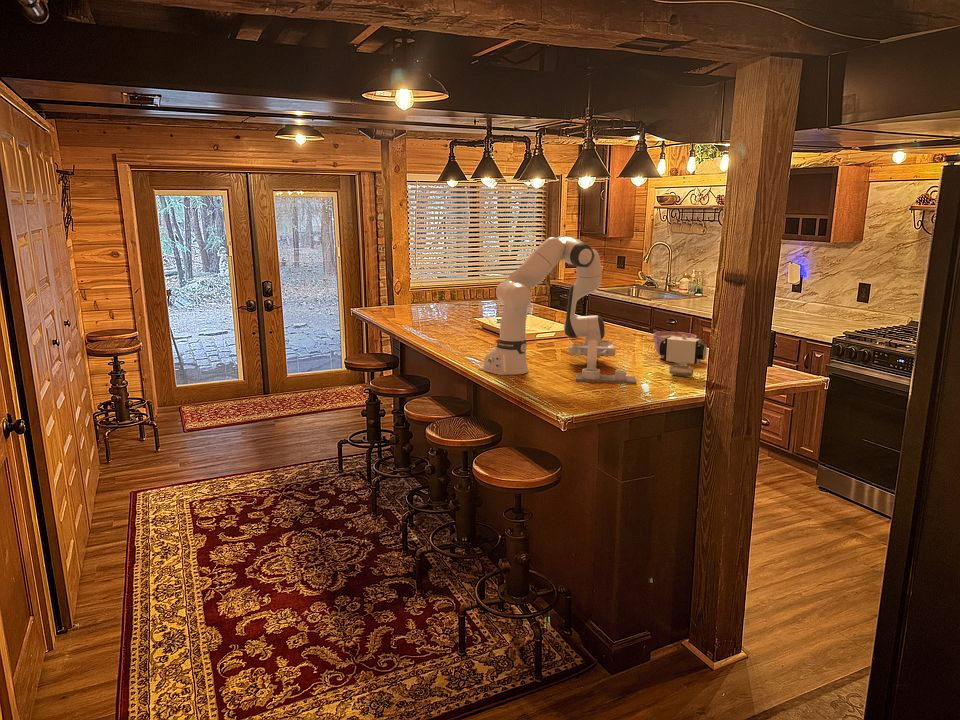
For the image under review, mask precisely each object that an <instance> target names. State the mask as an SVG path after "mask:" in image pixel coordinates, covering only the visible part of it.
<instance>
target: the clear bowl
mask: <svg viewBox="0 0 960 720" xmlns="http://www.w3.org/2000/svg"><path fill="white" fill-rule="evenodd" d="M652 335H653V341H654V347H655V351H656V354H657V355H659V356H660V357H663V356H661V355H660V352H659V349H660V343H661V341H662V340H665V338H667V337H669V336H673V337H682V335H686V338H695V339H698V338H697V337H698V335H695V334H694V333H689V332H682V331H657V332H654V333H653V334H652ZM663 358H664V357H663Z"/></svg>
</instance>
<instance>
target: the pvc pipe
mask: <svg viewBox="0 0 960 720" xmlns="http://www.w3.org/2000/svg"><path fill="white" fill-rule="evenodd" d="M597 359H598V357H597V341H595V340H589V341H588V351H587V356H586V368H596V369H597V361H598V360H597Z"/></svg>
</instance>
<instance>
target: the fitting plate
mask: <svg viewBox="0 0 960 720" xmlns="http://www.w3.org/2000/svg"><path fill="white" fill-rule="evenodd" d="M581 371H582V373H576V375H575V382H581V381H585V383H602V382H609V383H608V384H623V383H626V384H629V385H636V383H637V382H636V376H630V375H628V376H627V371H626V370H623V369H616V370H614V375H612V374H611V375H607V374H606V375H605V374H601V369H599V368H597V367H596V368H587V367H586V368H582V370H581Z"/></svg>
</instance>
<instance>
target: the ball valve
mask: <svg viewBox="0 0 960 720" xmlns="http://www.w3.org/2000/svg"><path fill="white" fill-rule="evenodd" d="M707 350H708V347H707V344H706V343H703V338H696V339H695V338H686V335H682V337H673V336H669V337H667V338H665V340H662V341H661V343H660V349H659V352H660V355H661V356H660V355H659V356H660V357H662V356H663V361H664V362H672V363H674V364H671V365H670V366H669V370H668V371H669V375H672V376H677V377H685V378H689V377H693V375H694V367H693V366H690V365H687V364H691V365H697V364H699V363H700V362H701V361H705V359H706V357H707V352H708V351H707Z"/></svg>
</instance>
